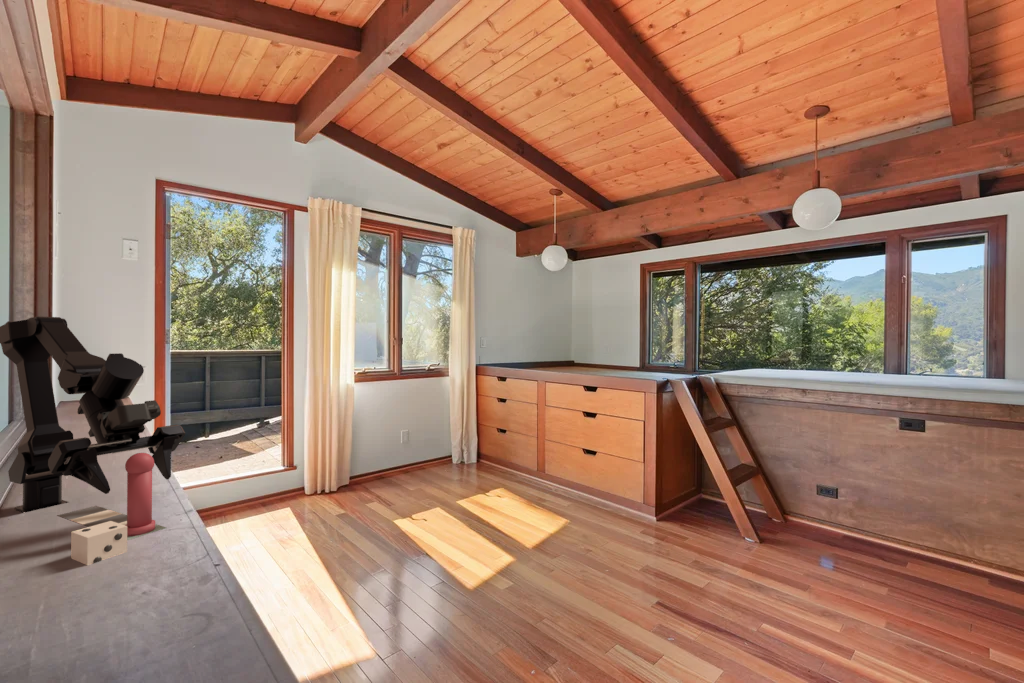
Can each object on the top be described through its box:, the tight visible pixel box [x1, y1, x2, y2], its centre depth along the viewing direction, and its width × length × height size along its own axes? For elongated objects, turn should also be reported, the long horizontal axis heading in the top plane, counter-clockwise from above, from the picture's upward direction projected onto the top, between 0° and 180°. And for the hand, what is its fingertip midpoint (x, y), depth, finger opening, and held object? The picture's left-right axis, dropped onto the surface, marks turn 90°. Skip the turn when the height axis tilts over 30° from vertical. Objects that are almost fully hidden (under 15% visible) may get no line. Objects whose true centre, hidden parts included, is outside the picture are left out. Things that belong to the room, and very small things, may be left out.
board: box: [56, 505, 167, 541], centre depth 87 cm, size 25×7×1 cm, turn 64°
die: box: [70, 521, 128, 566], centre depth 73 cm, size 5×5×5 cm
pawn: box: [124, 452, 156, 536], centre depth 82 cm, size 4×4×14 cm
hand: (140, 484), depth 82 cm, fingers open, 9 cm apart
